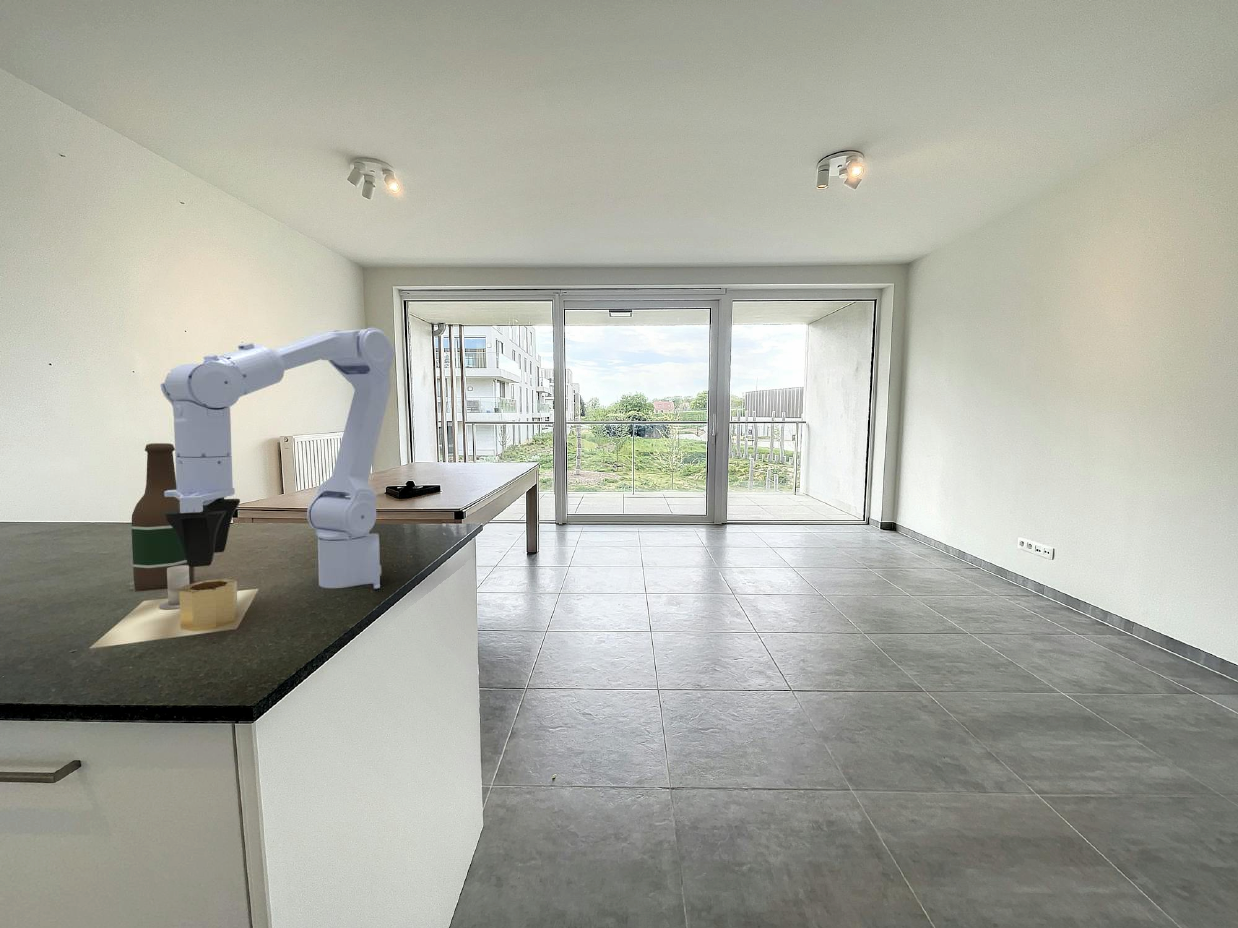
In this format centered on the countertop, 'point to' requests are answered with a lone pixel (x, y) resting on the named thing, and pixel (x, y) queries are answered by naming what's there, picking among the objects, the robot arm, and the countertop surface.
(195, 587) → the collar ring
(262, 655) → the countertop surface
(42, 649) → the countertop surface
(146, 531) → the beer bottle
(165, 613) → the board
